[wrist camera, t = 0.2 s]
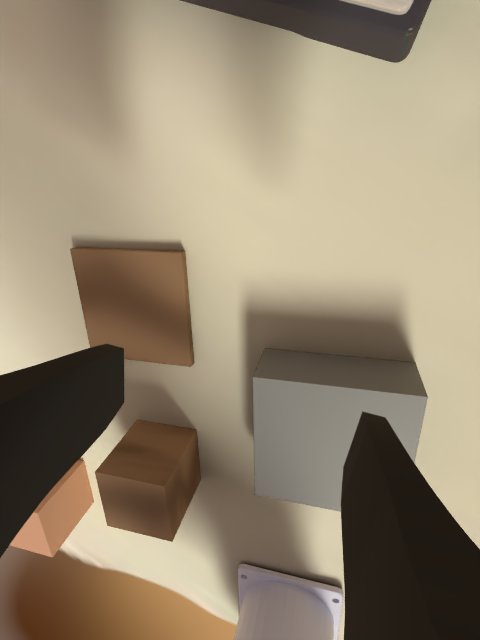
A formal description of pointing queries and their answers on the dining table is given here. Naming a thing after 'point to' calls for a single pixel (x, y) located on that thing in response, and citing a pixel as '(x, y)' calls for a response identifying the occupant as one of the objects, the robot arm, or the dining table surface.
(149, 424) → the walnut block
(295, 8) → the black and red box
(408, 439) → the base block
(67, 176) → the dining table surface
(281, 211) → the dining table surface
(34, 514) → the terracotta block
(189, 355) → the tile
